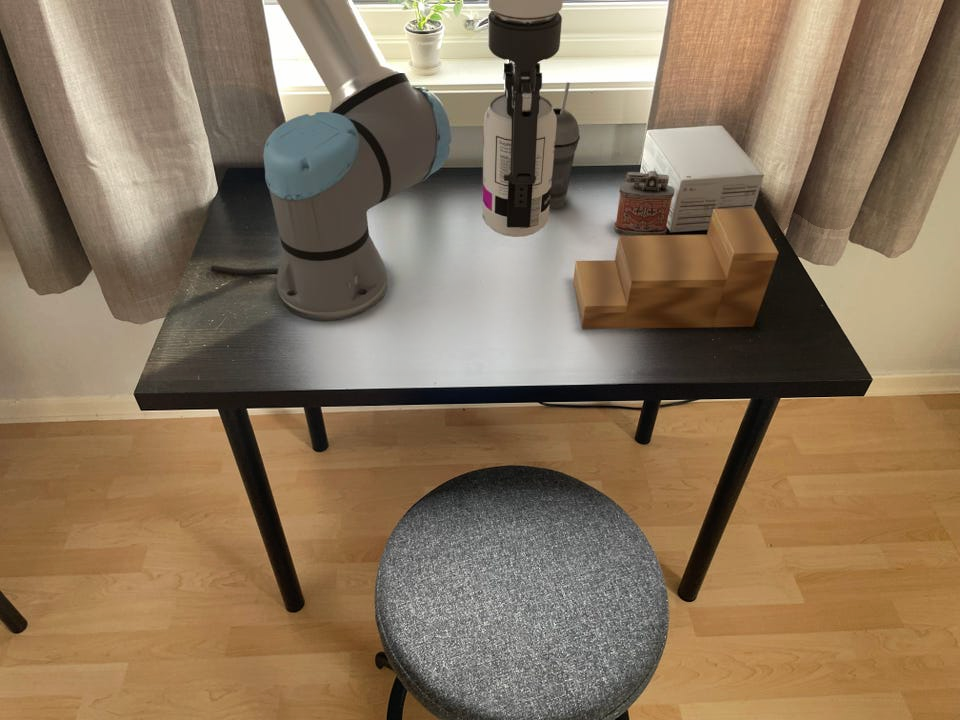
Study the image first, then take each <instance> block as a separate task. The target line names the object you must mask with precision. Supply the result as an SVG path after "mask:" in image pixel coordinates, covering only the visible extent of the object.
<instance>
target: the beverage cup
mask: <svg viewBox="0 0 960 720" xmlns="http://www.w3.org/2000/svg"><path fill="white" fill-rule="evenodd" d="M570 83H571V82H566V84H565V87H564V93H563V98H562V103H561V108H560V107H555V108H553V111H554V113H555V115H556V117H557V125H556V136H555V148H554V160H553V171H552V183H551V194H550V206H549V210H553V209H559V208H562V207H563V206H564V205H565V202H566V199H567V194H568V189H569V184H570V179H571V173H572V168H573V163H574V159H575V158H574V157H575V153H576V150H577V147H578V144H579V142H580V139H581V137H580V127H579V123H578V121H577V119H576V117H575V116H574V115H573V114H572V113H571V112H570V111H568V110H567V109H566V103H567V99H568V94H569V88H570Z"/></svg>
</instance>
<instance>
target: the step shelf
mask: <svg viewBox="0 0 960 720" xmlns="http://www.w3.org/2000/svg"><path fill="white" fill-rule="evenodd" d="M778 255H779V251H778V249H777V247H776V245H775V243H774V242H773V240H772V238H771V236H770V235H769V233H768V231H767V229H766V227H765V225H764V223H763V222H762V220H761V218H760V216H759V214H758V213H757V210H756V209H755V208H754V209H713V213H712V217H711V220H710V224H709V228H708V230H707V232H706V234H665V235H648V236H626V235H618V240H617V245H616V251H615V258H614V259H603V260H602V259H601V260H598V259H597V260H596V259H595V260H592V259H591V260H575V263H574V270H573V271H574V272H573V279H572V280H573V281H572V282H573V283H572V286H573V290H574V294H575V300H576V306H577V311H578V317H579V321H580V326H581V327H580V328H581V330H620V329H621V330H622V329H623V330H626V329H627V330H628V329H632V330H633V329H683V328H684V329H688V328H689V329H691V328H692V329H693V328H697V329H698V328H748V327H749V328H751V327H752V328H753V327H755V323H756V320H757V318H758V315H759V312H760V308H761V305H762V303H763V299H764V297H765V294H766V291H767V288H768V285H769V282H770V279H771V276H772V274H773V270H774V268H775V266H776V265H775V264H776V261H777V258H778Z"/></svg>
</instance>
